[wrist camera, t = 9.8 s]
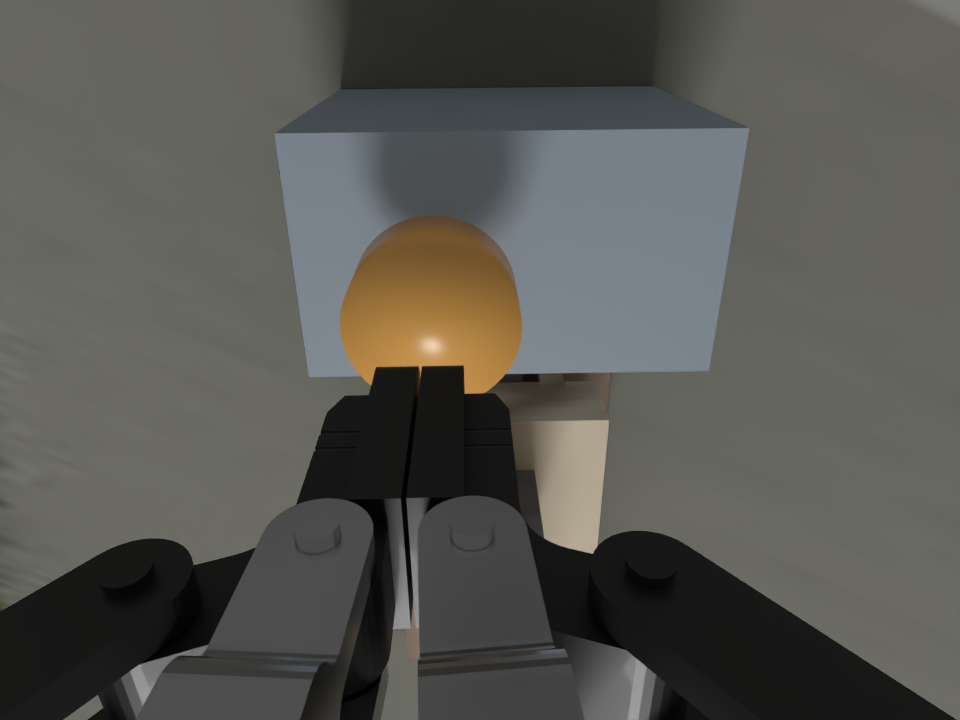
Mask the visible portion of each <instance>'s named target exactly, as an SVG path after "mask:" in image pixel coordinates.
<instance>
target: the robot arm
mask: <svg viewBox="0 0 960 720" xmlns="http://www.w3.org/2000/svg"><path fill="white" fill-rule="evenodd" d="M315 448H316V450H315V452H314V453H313V456H312V459H311V462H310V465H309V468H308V471H307V474H306V477H305V480H304V483H303V486H302V489H301V492H300V495H299V498H298V501H297V504H296V505H294V506H292V507H290V508H288V509H286V510H285V511H283V512H282V513H280V514H279V515H278V516H276V517H275V518H274V519H273V520H272V521H271V522H270V523H269V524H268V526H267V527H266V529H265V530H264V532H263V534H262V536H261V538H260V540H259V542H258V544H257V546H256V548H253V549H251V550H248V551H246V552H243V553H240V554H237V555H233V556H229V557H225V558H221V559H217V560H213V561H209V562H205V563H202V564H198V565H193V561H192V557H191V555H190V553H189V552H188V550H187V549H186V548H185V547H184V546H182V545H180V544H179V543H177V542H174V541H171V540H166V539H141V540H136V541H131V542H128V543H125V544H121V545H119V546H116V547H114V548H111V549H109V550H107V551H105V552H103V553H101V554H99V555H97V556H96V557H94V558H92V559H91V560H89V561H87V562H85V563H84V564H82V565H80V566H78V567H77V568H75V569H73V570H72V571H70V572H68V573H66V574H65V575H63V576H61V577H60V578H58V579H56V580H54V581H53V582H51V583H49V584H47V585H46V586H44V587H42V588H41V589H39V590H37V591H35V592H34V593H32V594H30V595H28V596H27V597H25V598H23V599H22V600H20V601H18V602H16V603H15V604H13V605H11V606H9V607H8V608H6V609H4V610H3V611H1V612H0V720H63V719H65V718H66V717H67V716H69V715H70V714H72V713H73V712H74V711H76V710H77V709H78V708H80V707H81V706H83V705H84V704H85V703H87V702H88V701H90V700H91V699H92V698H94V697H95V696H96V695H98V696H99V698H100V701H101V703H102V706H103V709H101V710H100V711H99V712H97V713H96V714H95V715H93V716H92V717H91V718H89V719H88V720H381V715H382V709H383V704H384V699H385V694H386V689H387V684H388V666H387V663H388V660H389V656H390V651H391V642H392V633H393V629H411V621H412V610H413V598H414V611H415V625H416V628H419V647H420V659H418V720H956V719H954V718H953V717H951V716H950V715H948V714H947V713H945V712H944V711H942V710H941V709H939V708H937V707H936V706H934V705H933V704H931V703H930V702H928V701H927V700H925V699H924V698H922V697H920V696H919V695H917V694H916V693H914V692H913V691H911V690H910V689H908V688H907V687H905V686H903V685H902V684H900V683H899V682H897V681H896V680H894V679H893V678H891V677H890V676H888V675H886V674H885V673H883V672H882V671H880V670H879V669H877V668H876V667H874V666H873V665H871V664H869V663H868V662H866V661H865V660H863V659H862V658H860V657H859V656H857V655H856V654H854V653H852V652H851V651H849V650H848V649H846V648H845V647H843V646H842V645H840V644H838V643H837V642H835V641H834V640H832V639H831V638H829V637H828V636H826V635H825V634H823V633H821V632H820V631H818V630H817V629H815V628H814V627H812V626H811V625H809V624H808V623H806V622H804V621H803V620H801V619H800V618H798V617H797V616H795V615H794V614H792V613H791V612H789V611H787V610H786V609H784V608H783V607H781V606H780V605H778V604H777V603H775V602H774V601H772V600H770V599H769V598H767V597H766V596H764V595H763V594H761V593H760V592H758V591H757V590H755V589H753V588H752V587H750V586H749V585H747V584H746V583H744V582H743V581H741V580H740V579H738V578H736V577H735V576H733V575H732V574H730V573H729V572H727V571H726V570H724V569H722V568H721V567H719V566H718V565H716V564H715V563H713V562H712V561H710V560H709V559H707V558H705V557H704V556H702V555H701V554H699V553H698V552H696V551H695V550H693V549H692V548H690V547H688V546H687V545H685V544H683V543H682V542H680V541H678V540H676V539H674V538H671V537H669V536H666V535H663V534H659V533H654V532H648V531H629V532H623V533H619V534H616V535H613V536H611V537H609V538H607V539H605V540H604V541H603V542H602V543H600V544H599V545H598V547H597V548H596V549H595V550H594V553H593V554H591V553H587V552H583V551H578V550H574V549H570V548H566V547H563V546H559V545H557V544H554V543H552V542H550V541H548V540H546V539H544V538H543V537H541V536H540V535H538V534H537V533H536V532H534V531H533V530H532V529H531V528H530V527H529V525H528V524H527V523H526V521H525V520H524V518H523V516H522V514H521V509H520V503H519V494H518V484H517V475H516V466H515V457H514V448H513V439H512V432H511V420H510V411H509V408H508V407H507V406H506V405H505V404H504V403H503V402H502V400H501V399H500V398H499V397H498V396H497V395H496V394H495V393H476V394H465V383H464V365H455V366H422V370H421V378H420V369H419V366H400V367H376V369H375V372H374V376H373V380H372V385H371V389H370V393H369V395H362V396H344V397H343V398H342V399H341V400H340V401H339V402H338V403H337V404H336V405H335V406H334V407H333V408H331V409H330V410H329V411H328V412H327V414H326V417H325V420H324V423H323V426H322V429H321V435H319V438H318V441H317V444H316V447H315Z"/></svg>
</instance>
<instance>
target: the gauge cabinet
mask: <svg viewBox="0 0 960 720" xmlns="http://www.w3.org/2000/svg"><path fill="white" fill-rule="evenodd" d="M274 134H275V141H276V148H277V155H278V162H279V169H280V176H281V183H282V190H283V197H284V205H285V212H286V219H287V226H288V233H289V240H290V247H291V254H292V261H293V268H294V275H295V282H296V289H297V296H298V303H299V310H300V317H301V324H302V331H303V338H304V345H305V352H306V359H307V366H308V373H309V377H345V376H361V375H360V374H359V373H358V372H357V371H356V369H355V368H354V366H353V365H352V363H351V362H350V360H349V358H348V356H347V354H346V352H345V349H344V346H343V343H342V338H341V332H340V313H341V307H342V303H343V299H344V297H345V294H346V292H347V290H348V287H349V285H350V282H351V280H352V278H353V275H354V273H355V270H356V268H357V266H358V263H359V261H360V259H361V257H362V255H363V253H364V252H365V250H366V248H367V247H368V246H369V245H370V243H371V242H372V241H373V240H374V239H375V238H376V237H377V236H378V235H379V234H380V233H382V232H383V231H385V230H386V229H388V228H389V227H391V226H393V225H395V224H397V223H399V222H401V221H404V220H407V219H410V218H414V217H419V216H429V215H436V216H447V217H452V218H456V219H459V220H462V221H465V222H468V223H470V224H472V225H474V226H476V227H477V228H479V229H481V230H482V231H484V232H485V233H486V234H487V235H489V236H490V237H491V238H492V239H493V240H494V241H495V242H496V243H497V244H498V245H499V246H500V248H501V249H502V251H503V252H504V253H505V255H506V257H507V259H508V261H509V263H510V264H511V267H512V270H513V273H514V277H515V282H516V288H517V293H518V299H519V305H520V311H521V316H522V336H521V342H520V346H519V350H518V353H517V355H516V358H515V360H514V362H513V363H512V365H511V367H510V369H509V370H508V371H507V373H506V374H541V373H606V372H671V371H709V367H710V362H711V356H712V350H713V344H714V338H715V332H716V326H717V320H718V314H719V308H720V302H721V296H722V290H723V284H724V278H725V272H726V266H727V260H728V254H729V248H730V242H731V236H732V230H733V224H734V218H735V212H736V206H737V200H738V194H739V188H740V182H741V176H742V170H743V164H744V158H745V152H746V146H747V140H748V134H749V128H748V127H746V126H744V125H741V124H739V123H737V122H735V121H732V120H730V119H728V118H726V117H723V116H721V115H719V114H716V113H714V112H712V111H710V110H707V109H705V108H703V107H700V106H698V105H696V104H694V103H691V102H689V101H687V100H684V99H682V98H680V97H678V96H675V95H673V94H671V93H669V92H666V91H664V90H662V89H659V88H657V87H655V86H612V87H519V88H426V89H340V90H339V91H337V92H336V93H334V94H333V95H331V96H330V97H328V98H327V99H325V100H324V101H322V102H321V103H319V104H318V105H316V106H315V107H313V108H312V109H310V110H309V111H307V112H306V113H304V114H303V115H301V116H300V117H298V118H297V119H295V120H294V121H292V122H291V123H289V124H288V125H286V126H285V127H283V128H282V129H280V130H279V131H277V132H276V133H274Z"/></svg>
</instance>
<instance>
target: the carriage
mask: <svg viewBox="0 0 960 720" xmlns="http://www.w3.org/2000/svg"><path fill="white" fill-rule="evenodd" d="M485 393H495V394H496V395H497V396H498V397H499V398H500V399H501V400H502V402H503V403H504V404H505V405H506V406H507V407H508V408H509V411H510V420H511V432H512V439H513V448H514V457H515V466H516V475H517V484H518V494H519V503H520V509H521V514H522V516H523V518H524V520H525V521H526V523H527V524H528V525H529V527H530V528H531V529H532V530H533V531H534V532H536V533H537V534H538V535H540V536H541V537H543V538H544V539H546V540H548V541H550V542H552V543H554V544H557V545H559V546H563V547H566V548H570V549H574V550H578V551H583V552H587V553H591V554H593V553H594V550H595V549H596V548H597V544H598V534H599V523H600V512H601V502H602V491H603V480H604V470H605V459H606V448H607V438H608V427H609V418H608V415H607V412H606V409H605V406H604V404H603V401H602V398H601V395H600V392H599V389H598V386H597V383H596V381H567V382H565V381H564V377H563V374H562V373H541V374H537V382H502V383H497V384H496V385H495V386H493V387H492V388H491V389H489V390H488V391H487V392H485Z"/></svg>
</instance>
